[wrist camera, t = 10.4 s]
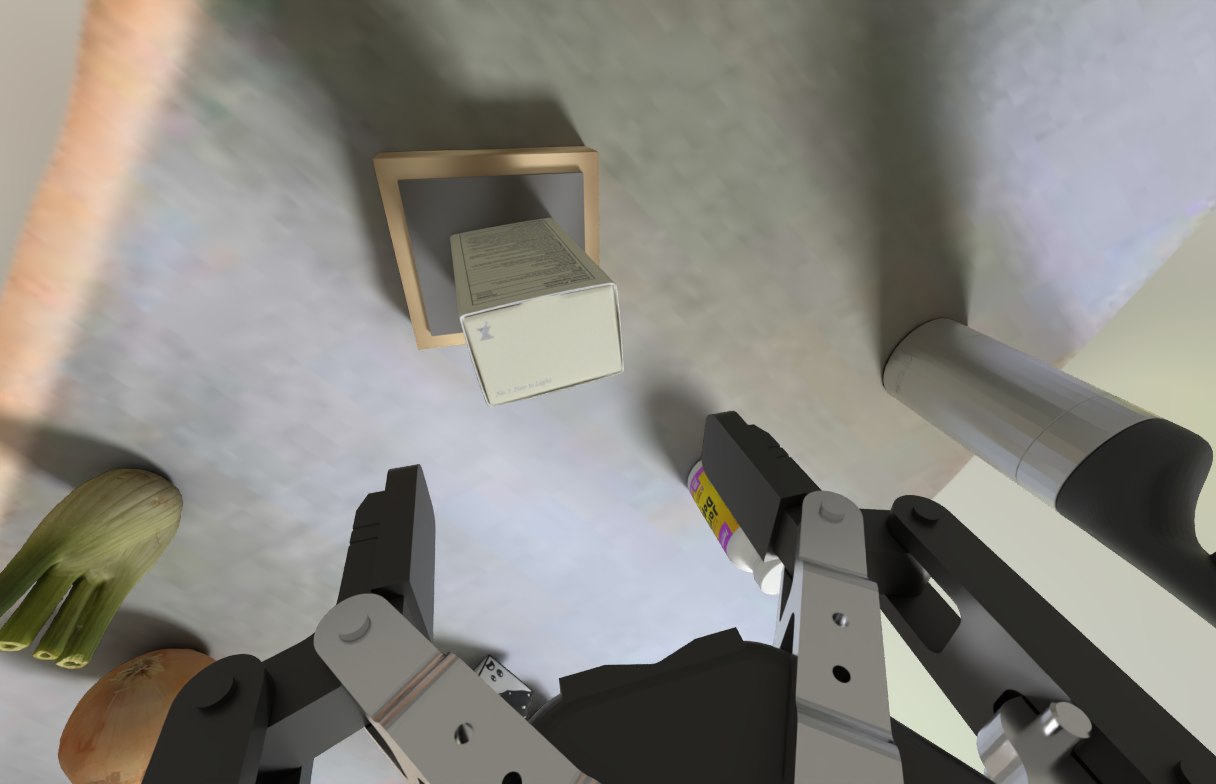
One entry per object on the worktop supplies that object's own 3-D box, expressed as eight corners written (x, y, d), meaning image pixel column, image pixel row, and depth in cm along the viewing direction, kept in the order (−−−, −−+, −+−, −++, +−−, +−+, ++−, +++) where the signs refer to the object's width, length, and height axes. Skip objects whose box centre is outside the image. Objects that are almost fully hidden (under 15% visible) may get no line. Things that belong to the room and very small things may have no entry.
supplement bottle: (680, 462, 47) (746, 569, 37) (740, 437, 48) (823, 535, 38) (690, 505, 51) (753, 613, 41) (746, 481, 52) (822, 581, 41)
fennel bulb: (83, 459, 31) (-77, 628, 22) (174, 451, 33) (62, 606, 23) (122, 522, 34) (-3, 695, 25) (204, 512, 36) (116, 672, 26)
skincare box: (468, 303, 30) (481, 414, 20) (447, 230, 27) (451, 315, 17) (567, 283, 31) (626, 378, 21) (556, 211, 28) (617, 281, 18)
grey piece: (589, 703, 68) (608, 786, 60) (528, 736, 69) (540, 823, 61) (492, 632, 53) (501, 730, 45) (415, 675, 54) (410, 780, 46)
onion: (146, 703, 44) (80, 842, 36) (76, 644, 39) (-20, 792, 31) (263, 670, 46) (226, 795, 38) (213, 610, 41) (156, 741, 33)
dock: (585, 146, 30) (600, 152, 27) (589, 310, 36) (601, 329, 33) (378, 152, 27) (371, 160, 24) (419, 330, 33) (418, 352, 30)
